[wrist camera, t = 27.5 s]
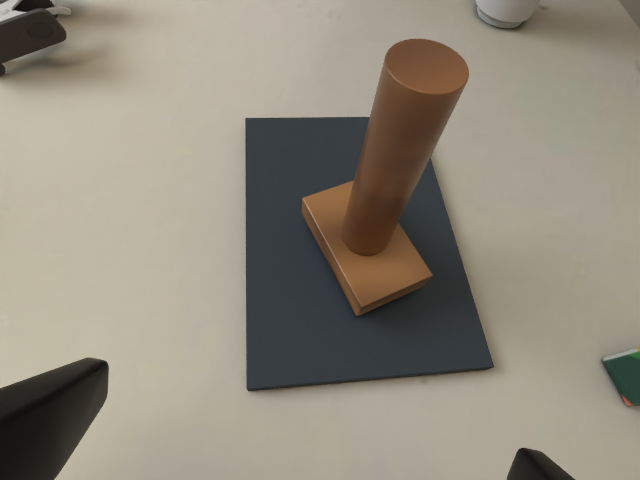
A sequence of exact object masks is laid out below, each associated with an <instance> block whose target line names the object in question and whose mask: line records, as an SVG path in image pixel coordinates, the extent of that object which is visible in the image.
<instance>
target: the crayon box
mask: <svg viewBox="0 0 640 480" xmlns="http://www.w3.org/2000/svg"><path fill="white" fill-rule="evenodd" d="M602 362H603V363H604V365H605V367H606V369H607V371H608V373H609V375H610V377H611V378H612V380H613V382H614V384H615V386H616V387H617V389H618V391H619V393H620V394H621V396H622V398H623V400H624V402H625V404H626V405H628V406H638V405H640V348H635V349H632V350H629V351H625V352H622V353H618V354H615V355H611V356H608V357H603V358H602Z"/></svg>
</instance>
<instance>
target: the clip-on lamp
mask: <svg viewBox="0 0 640 480" xmlns="http://www.w3.org/2000/svg"><path fill="white" fill-rule="evenodd" d="M58 14H67V15H71V9H70V8H67V7H64V6H60V5H57V4H53V3H52V2H51V1H50V0H0V75H3V74H5V72H6V71H5V67H4V66H3V65H2V64H1V63H4V62H7V61H9V60H12V59H15V58H18V57H21V56H23V55H26V54H29V53H32V52H34V51H37V50H40V49H43V48H46V47H48V46H51V45H54V44H57V43H60V42H62V41H64V40H65V39H66V31H65V30H64V28H63V27H62V25H61V24H60V23H59V22H58V21H57V20H56V17H57V16H58Z"/></svg>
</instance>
